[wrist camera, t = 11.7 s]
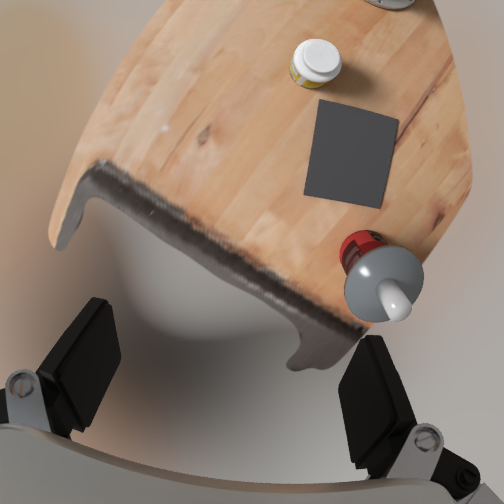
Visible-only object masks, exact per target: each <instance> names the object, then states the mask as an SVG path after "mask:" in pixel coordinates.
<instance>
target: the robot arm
mask: <svg viewBox="0 0 504 504" xmlns="http://www.w3.org/2000/svg"><path fill="white" fill-rule="evenodd" d="M365 1H367V2H369V3H371V4H373V5H375V6H378V7H381V8H385V9H393V10H396V9H402V8H405V7H407V6H409V5H411V4H412V3H413V2H414V1H415V0H365ZM379 2H380V3H379ZM120 361H121V352H120V347H119V342H118V337H117V332H116V327H115V321H114V316H113V310H112V306H111V305H110V304H108V301H107V300H105V299H101V298H96V297H92V298H91V299H90V301H89V302H88V303H87V304H86V306H85V307H84V308H83V309H82V311H81V312H80V313H79V314H78V316H77V317H76V318H75V320H74V321H73V322H72V323H71V325H70V326H69V327H68V328H67V330H66V331H65V332H64V333H63V335H62V336H61V337H60V339H59V340H58V341H57V343H56V344H55V346H54V347H53V348H52V350H51V351H50V352H49V354H48V355H47V357H46V358H45V360H44V361H43V363H42V364H41V365H40V367H39V368H38V370H37V371H36V373H34V372H33V371H31V370H27V369H23V370H18V371H15V372H14V373H12V374H11V375H10V376H9V377H8V379H7V381H6V384H5V388H4V389H1V390H0V504H504V503H503V502H502V501H501V500H500V499H499V498H498V496H497V495H496V494H495V493H494V492H493V491H492V490H491V489H490V488H489V487H488V486H487V485H486V484H485V483H482V484H480V480H481V479H480V473H479V470H478V469H477V467H476V466H475V465H473V464H472V463H470V462H469V461H467V460H465V459H463V458H461V457H460V456H458V455H456V454H454V453H453V452H451V451H449V450H448V449H446V448H444V447H443V445H444V440H443V436H442V434H441V432H440V431H439V429H438V428H436V427H435V426H433V425H431V424H428V423H422V424H417V421H416V418H415V415H414V413H413V410H412V407H411V405H410V402H409V399H408V397H407V394H406V391H405V389H404V386H403V384H402V381H401V379H400V376H399V374H398V372H397V370H396V368H395V366H394V364H393V361H392V359H391V356H390V354H389V352H388V349H387V347H386V344H385V342H384V340H383V338H382V337H381V336H379V335H366V336H365V338H362V339H361V340H360V341H359V344H358V346H357V348H356V350H355V352H354V355H353V357H352V359H351V361H350V363H349V365H348V367H347V369H346V372H345V373H344V375H343V377H342V380H341V382H340V384H339V388H338V393H339V398H340V403H341V408H342V413H343V419H344V424H345V430H346V435H347V441H348V446H349V452H350V458H351V462H352V463H355V466H356V469H366V468H367V470H368V474H369V475H368V476H367V478H366V479H365V480H362V481H351V482H339V483H319V484H271V483H253V482H241V481H231V480H222V479H215V478H208V477H201V476H195V475H189V474H184V473H179V472H174V471H169V470H165V469H160V468H156V467H152V466H148V465H144V464H140V463H137V462H133V461H130V460H126V459H123V458H120V457H116V456H113V455H110V454H107V453H104V452H101V451H98V450H95V449H93V448H90V447H87V446H84V445H82V444H79V443H76V442H73V441H72V440H71V437H70V433H71V431H72V429H75V430H77V431H80V432H82V433H83V432H84V430H85V428H86V427H89V426H90V425H91V423H92V420H93V418H94V416H95V414H96V412H97V410H98V407H99V405H100V403H101V401H102V399H103V397H104V395H105V392H106V390H107V388H108V386H109V384H110V382H111V380H112V378H113V376H114V374H115V372H116V370H117V368H118V366H119V364H120Z"/></svg>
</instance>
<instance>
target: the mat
mask: <svg viewBox="0 0 504 504" xmlns="http://www.w3.org/2000/svg"><path fill="white" fill-rule="evenodd" d="M397 125H398V119H394V118H391V117H388V116H385V115H381V114H378V113H374V112H371V111H367V110H363V109H359V108H355V107H351V106H347V105H343V104H339V103H335V102H330V101H325V100H321V99H319V105H318V111H317V118H316V124H315V130H314V137H313V143H312V149H311V155H310V161H309V166H308V172H307V178H306V183H305V189H304V195H307V196H313V197H319V198H325V199H330V200H336V201H342V202H347V203H352V204H358V205H363V206H368V207H373V208H378V209H380V205H381V201H382V197H383V193H384V189H385V185H386V180H387V176H388V171H389V167H390V162H391V157H392V152H393V147H394V142H395V136H396V131H397Z"/></svg>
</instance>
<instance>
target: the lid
mask: <svg viewBox="0 0 504 504" xmlns="http://www.w3.org/2000/svg"><path fill="white" fill-rule="evenodd" d="M423 280H424V272H423V268H422V265H421V263H420V261H419V260H418V258H417V257H416V256H415V255H414V254H413V253H412V252H411V251H410V250H408V249H407V248H404V247H402V246H398V245H385V246H380V247H377V248H375V249H372V250H370V251H369V252H367V253H366V254H364V255H363V256H362V257H360V258H359V259H358V260H357V261H356V262H355V264H354V265H353V266H352V268H351V269H350V271H349V273H348V275H347V277H346V280H345V285H344V295H345V300H346V302H347V305H348V307H349V309H350V311H351V312H352V313H353V314H354V315H355V316H356V317H358V318H359V319H361V320H363V321H367V322H375V323H377V322H384V321H388V320H392V321H395V322H398V321H402V320H404V319H405V318H407V317H408V315H409V314H410V312H411V310H412V304H413V303H414V302H415V301H416V299H417V298H418V296H419V294H420V292H421V289H422V286H423Z"/></svg>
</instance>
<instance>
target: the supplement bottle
mask: <svg viewBox="0 0 504 504" xmlns="http://www.w3.org/2000/svg"><path fill="white" fill-rule="evenodd" d="M341 67H342V59H341V56H340V53H339V51H338V50H337V48H336V47H335V46H334V45H333V44H331V43H330V42H328V41H325V40H321V39H310V40H307V41H304V42H303V43H301V44H300V45H299V46H298V47H297V48H296V50H295V52H294V55H293V57H292V60H291V62H290V66H289V72H290V75H291V77H292V79H293V80H294V81H295V82H296V83H297V84H298V85H300V86H302V87H304V88H310V89H313V88H318V87H320V86H322V85H324V84H325V83H327V82H329V81H330V80H332V79H334V78H335V77H336V76H337V75H338V74H339V72H340V70H341Z"/></svg>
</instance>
